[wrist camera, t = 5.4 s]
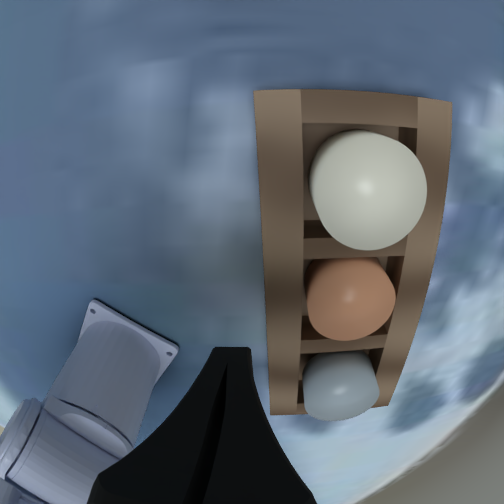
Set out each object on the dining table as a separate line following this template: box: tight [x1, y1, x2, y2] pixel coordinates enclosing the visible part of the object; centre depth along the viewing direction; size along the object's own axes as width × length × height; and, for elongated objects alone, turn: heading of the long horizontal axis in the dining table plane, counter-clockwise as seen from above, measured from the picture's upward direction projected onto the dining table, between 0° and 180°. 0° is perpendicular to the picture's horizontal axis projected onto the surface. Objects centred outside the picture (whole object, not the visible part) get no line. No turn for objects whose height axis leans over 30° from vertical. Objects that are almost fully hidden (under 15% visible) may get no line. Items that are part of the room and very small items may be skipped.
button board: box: [253, 89, 452, 415], centre depth 19 cm, size 23×10×3 cm, turn 4°
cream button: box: [308, 129, 427, 250], centre depth 14 cm, size 5×5×3 cm
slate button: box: [302, 350, 379, 421], centre depth 20 cm, size 5×5×3 cm
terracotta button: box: [304, 257, 396, 341], centre depth 19 cm, size 5×5×3 cm
